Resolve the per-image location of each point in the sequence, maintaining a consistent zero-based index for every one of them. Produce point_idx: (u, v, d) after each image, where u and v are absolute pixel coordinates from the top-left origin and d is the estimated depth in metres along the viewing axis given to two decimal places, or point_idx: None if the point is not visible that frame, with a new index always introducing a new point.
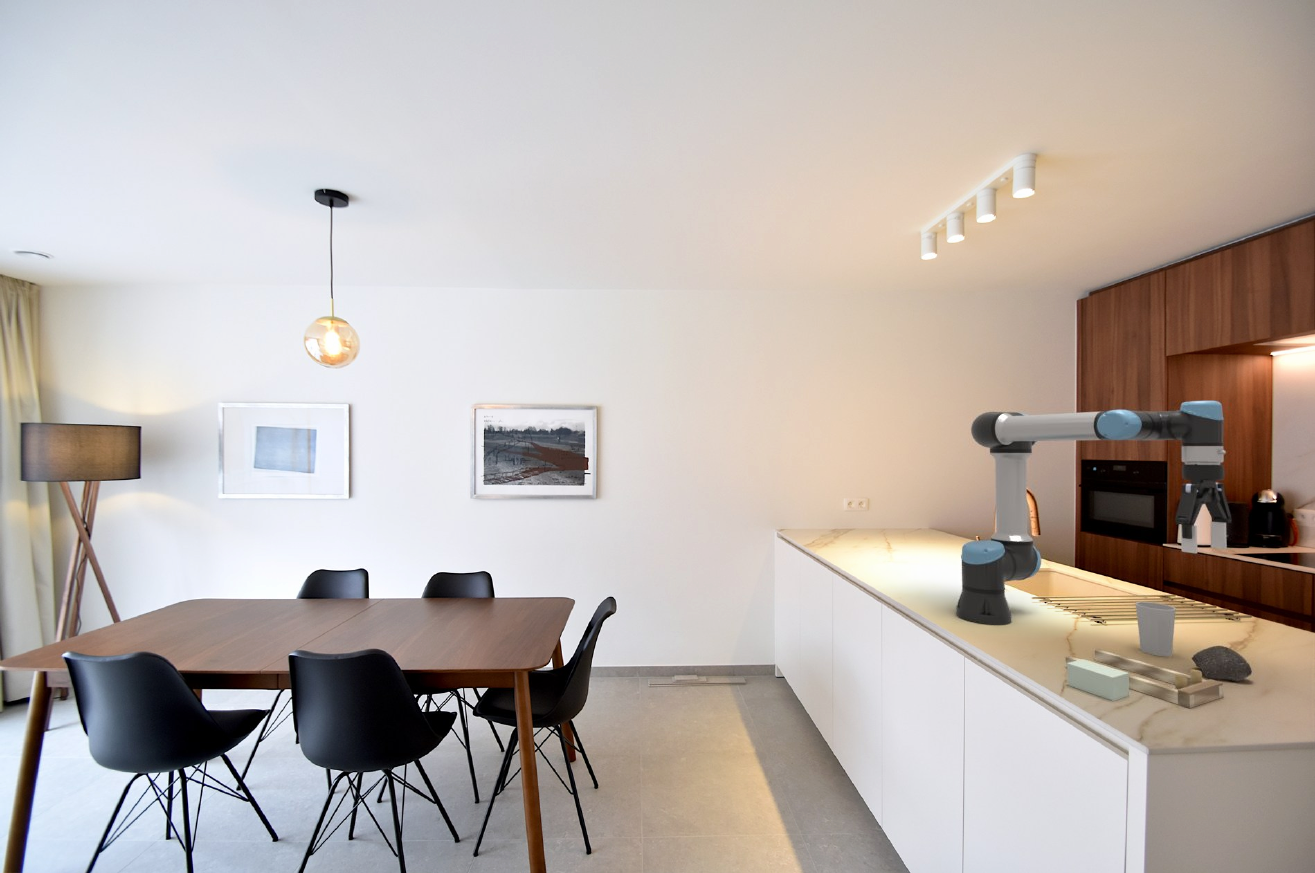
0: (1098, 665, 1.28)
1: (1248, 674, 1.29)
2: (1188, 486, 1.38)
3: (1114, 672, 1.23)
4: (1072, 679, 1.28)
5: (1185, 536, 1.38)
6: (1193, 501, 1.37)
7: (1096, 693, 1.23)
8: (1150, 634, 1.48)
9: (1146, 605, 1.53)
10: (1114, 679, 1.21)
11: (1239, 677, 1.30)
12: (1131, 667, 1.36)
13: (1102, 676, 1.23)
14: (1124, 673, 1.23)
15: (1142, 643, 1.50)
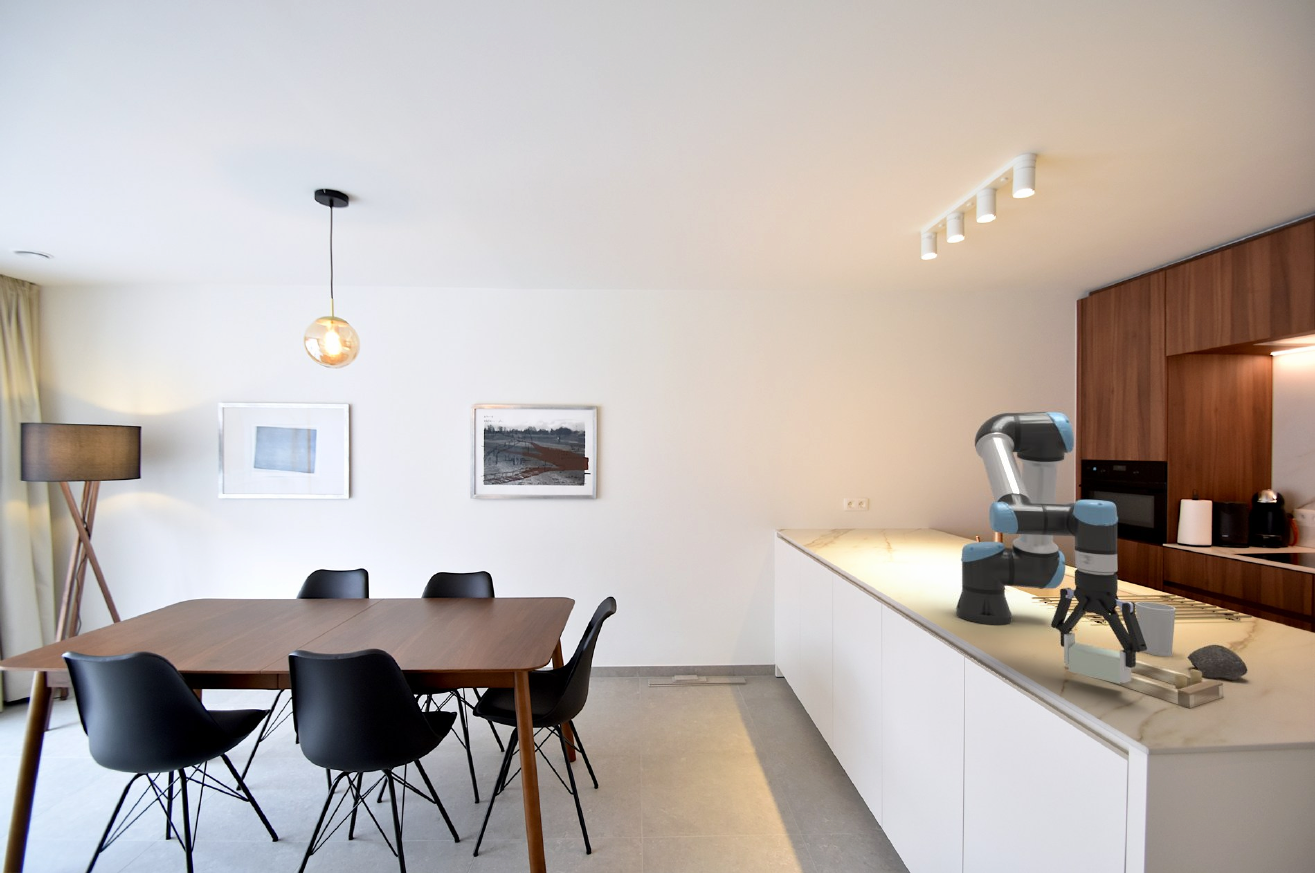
0: (1094, 647, 1.28)
1: (1244, 673, 1.30)
2: None
3: (1114, 654, 1.25)
4: (1075, 665, 1.27)
5: None
6: (1059, 606, 1.32)
7: (1101, 677, 1.24)
8: (1150, 634, 1.48)
9: (1146, 605, 1.53)
10: None
11: (1235, 676, 1.30)
12: None
13: (1108, 659, 1.23)
14: None
15: None
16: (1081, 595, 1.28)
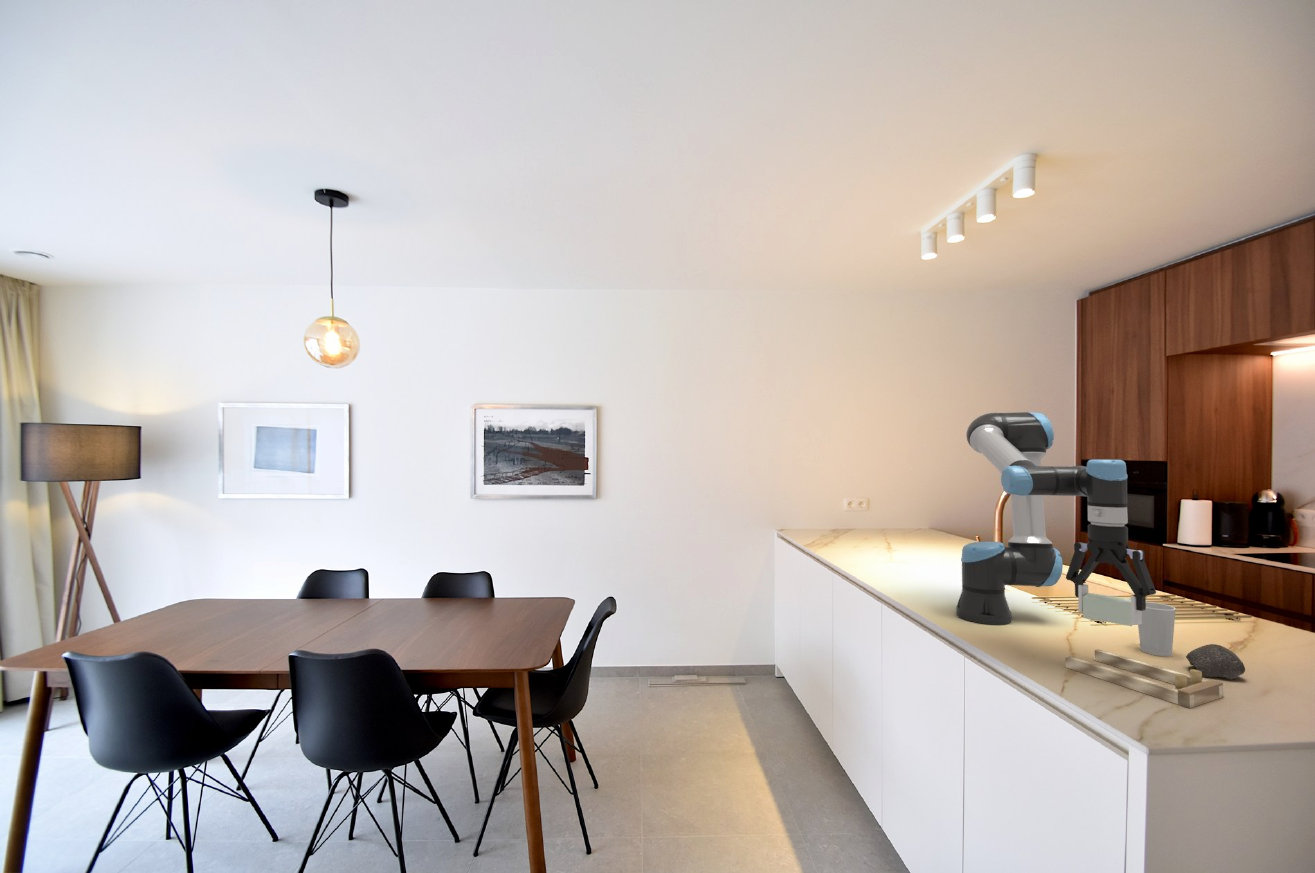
0: (1106, 596, 1.38)
1: (1242, 672, 1.30)
2: None
3: (1126, 600, 1.35)
4: (1089, 611, 1.37)
5: None
6: (1074, 559, 1.43)
7: (1114, 621, 1.33)
8: (1150, 634, 1.48)
9: (1146, 605, 1.53)
10: None
11: (1233, 675, 1.31)
12: (1131, 667, 1.36)
13: (1119, 604, 1.33)
14: None
15: (1142, 643, 1.50)
16: (1094, 547, 1.38)
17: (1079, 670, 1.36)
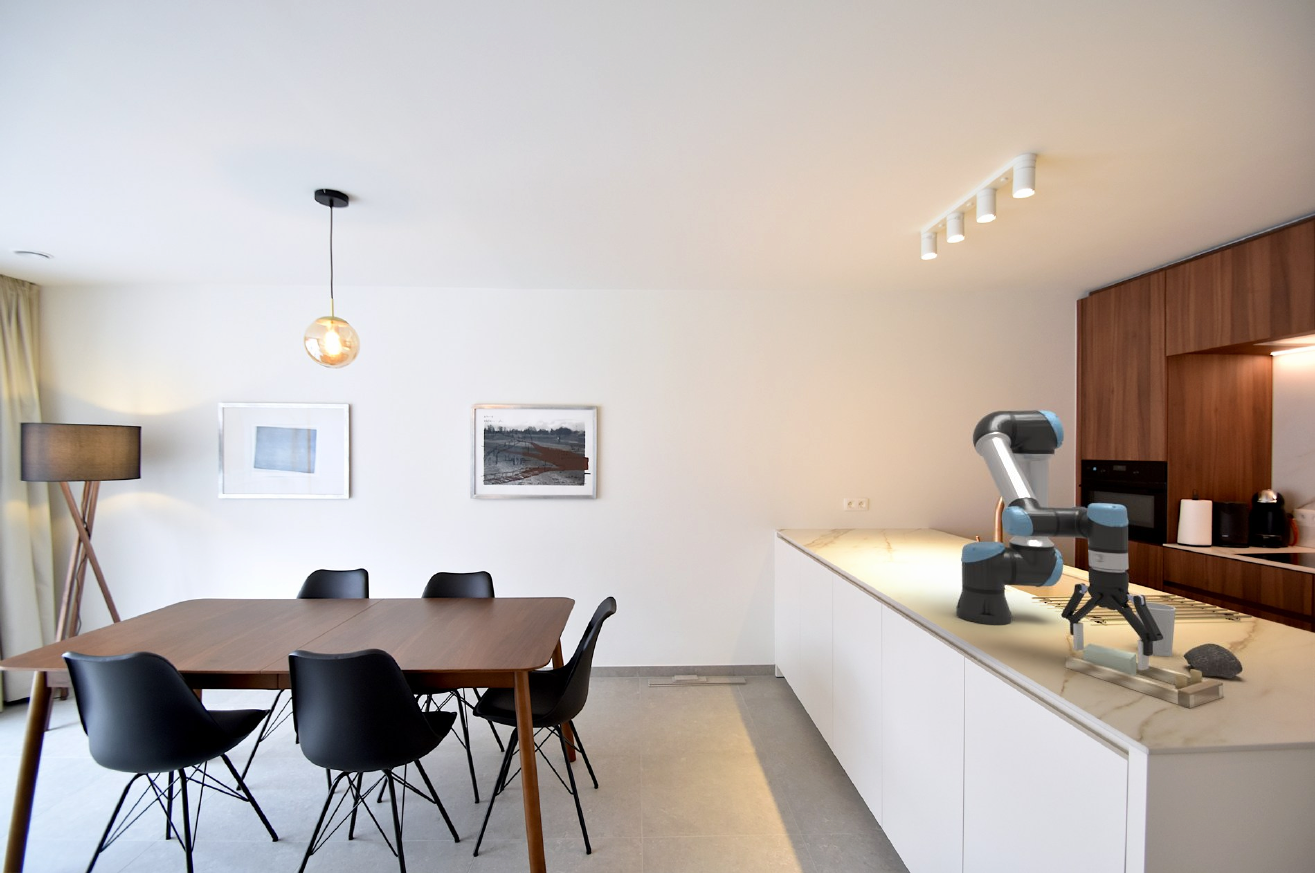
0: (1107, 648, 1.38)
1: (1239, 671, 1.31)
2: None
3: (1126, 654, 1.34)
4: None
5: None
6: (1072, 599, 1.43)
7: None
8: None
9: (1146, 605, 1.53)
10: (1131, 660, 1.31)
11: (1230, 674, 1.31)
12: None
13: (1119, 658, 1.33)
14: (1133, 654, 1.35)
15: None
16: (1094, 592, 1.38)
17: (1079, 670, 1.36)
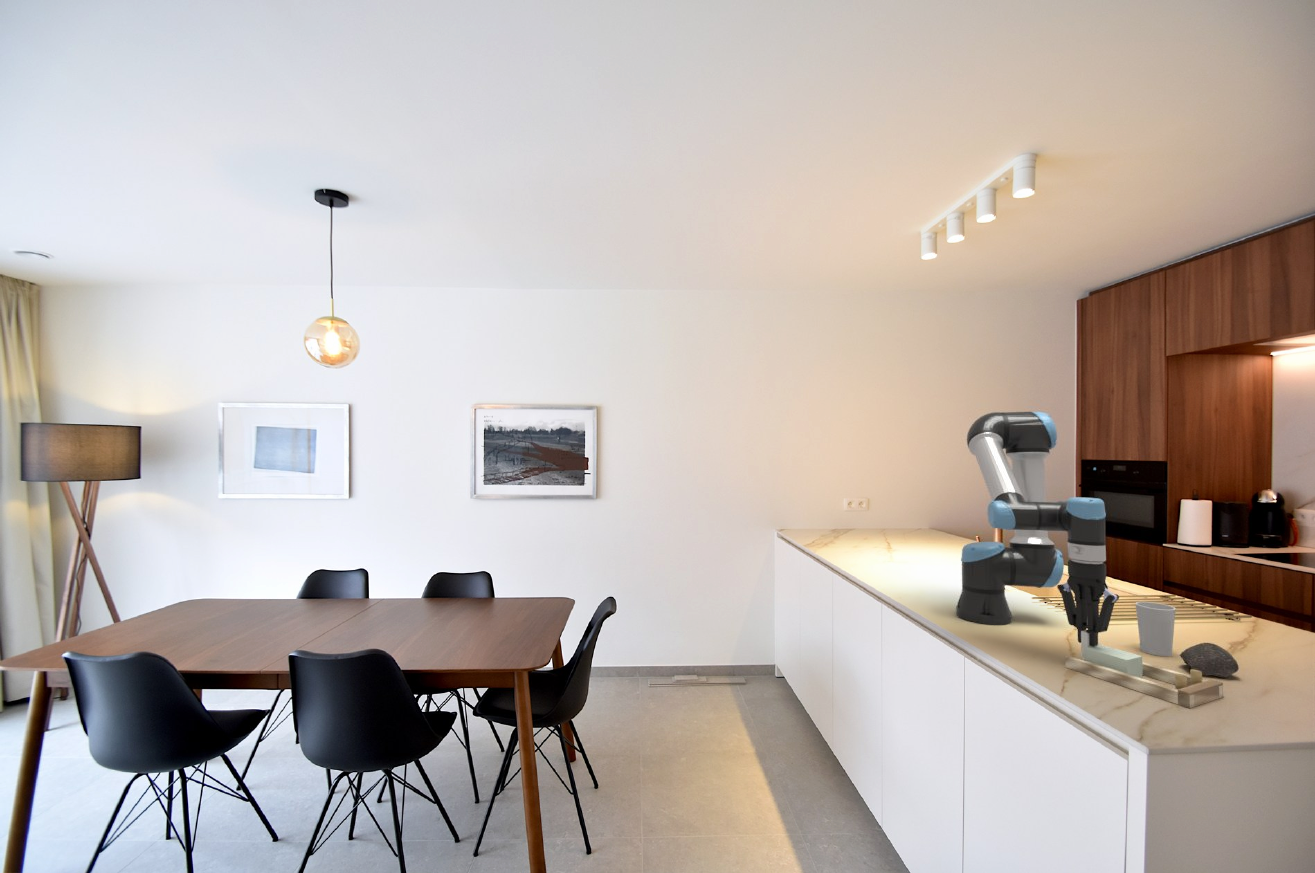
0: (1113, 649, 1.37)
1: (1235, 670, 1.31)
2: None
3: (1128, 655, 1.33)
4: None
5: None
6: (1065, 602, 1.44)
7: None
8: (1150, 634, 1.48)
9: (1146, 605, 1.53)
10: (1128, 661, 1.31)
11: (1226, 673, 1.32)
12: None
13: (1117, 658, 1.32)
14: (1138, 656, 1.33)
15: (1142, 643, 1.50)
16: (1073, 581, 1.43)
17: (1079, 670, 1.36)
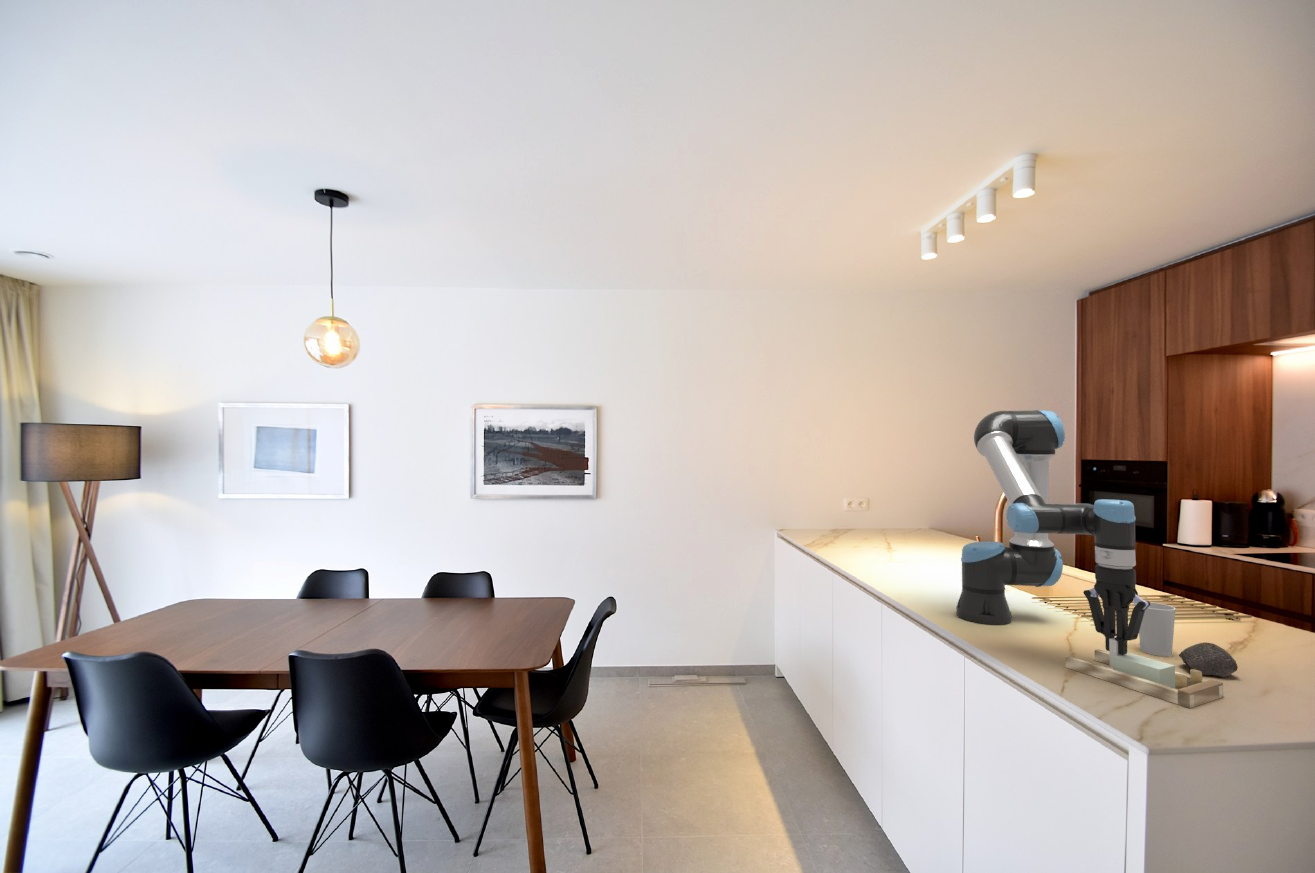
0: (1144, 658, 1.32)
1: (1234, 670, 1.32)
2: None
3: (1160, 665, 1.27)
4: None
5: None
6: (1092, 608, 1.39)
7: None
8: (1150, 634, 1.48)
9: None
10: (1160, 671, 1.25)
11: (1226, 673, 1.32)
12: None
13: (1148, 668, 1.27)
14: (1170, 665, 1.27)
15: (1142, 643, 1.50)
16: (1101, 587, 1.37)
17: (1079, 670, 1.36)
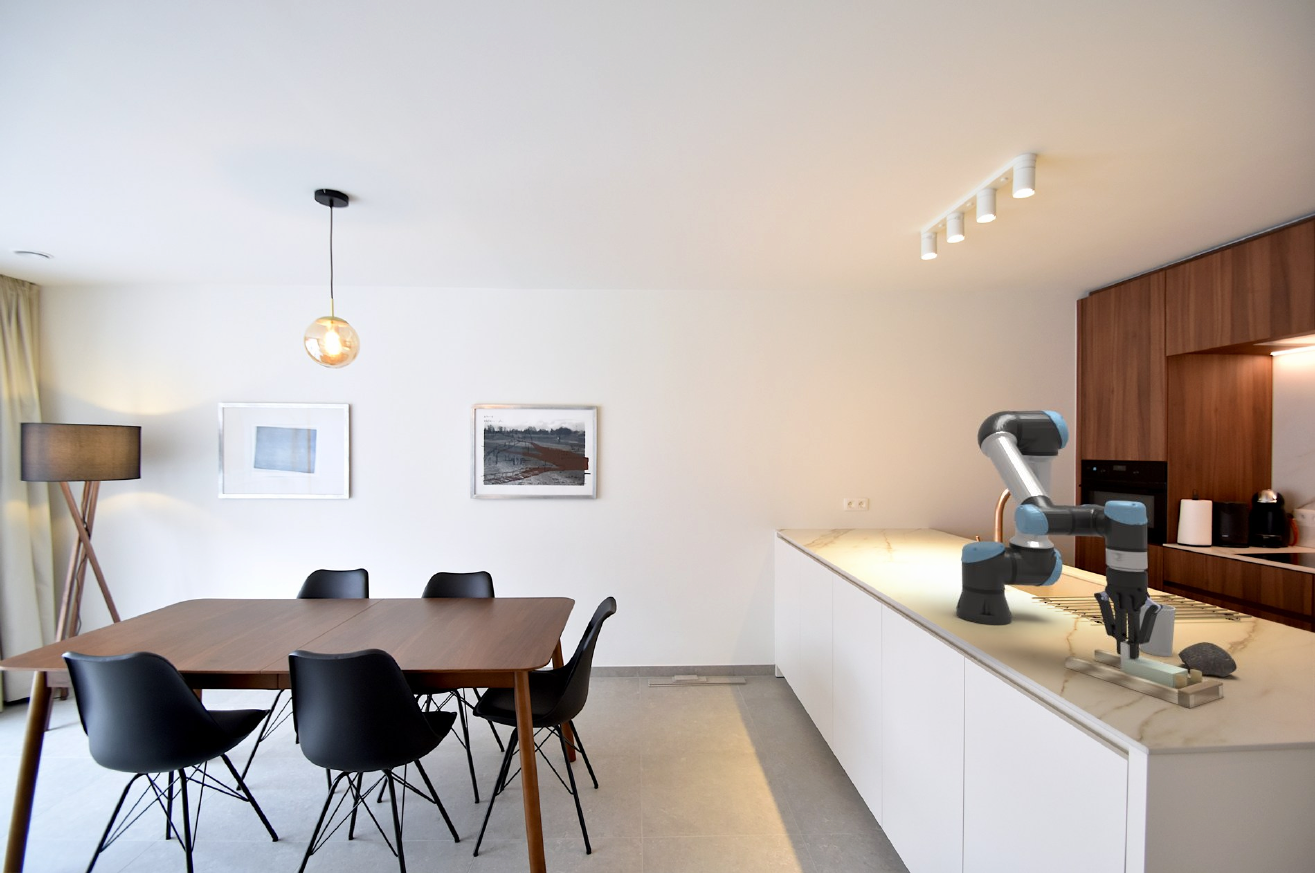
0: (1156, 662, 1.30)
1: (1233, 670, 1.32)
2: None
3: (1173, 669, 1.25)
4: None
5: None
6: (1103, 611, 1.37)
7: None
8: None
9: None
10: (1174, 675, 1.23)
11: (1225, 673, 1.32)
12: None
13: (1161, 672, 1.25)
14: (1183, 670, 1.25)
15: None
16: (1112, 589, 1.35)
17: (1079, 670, 1.36)
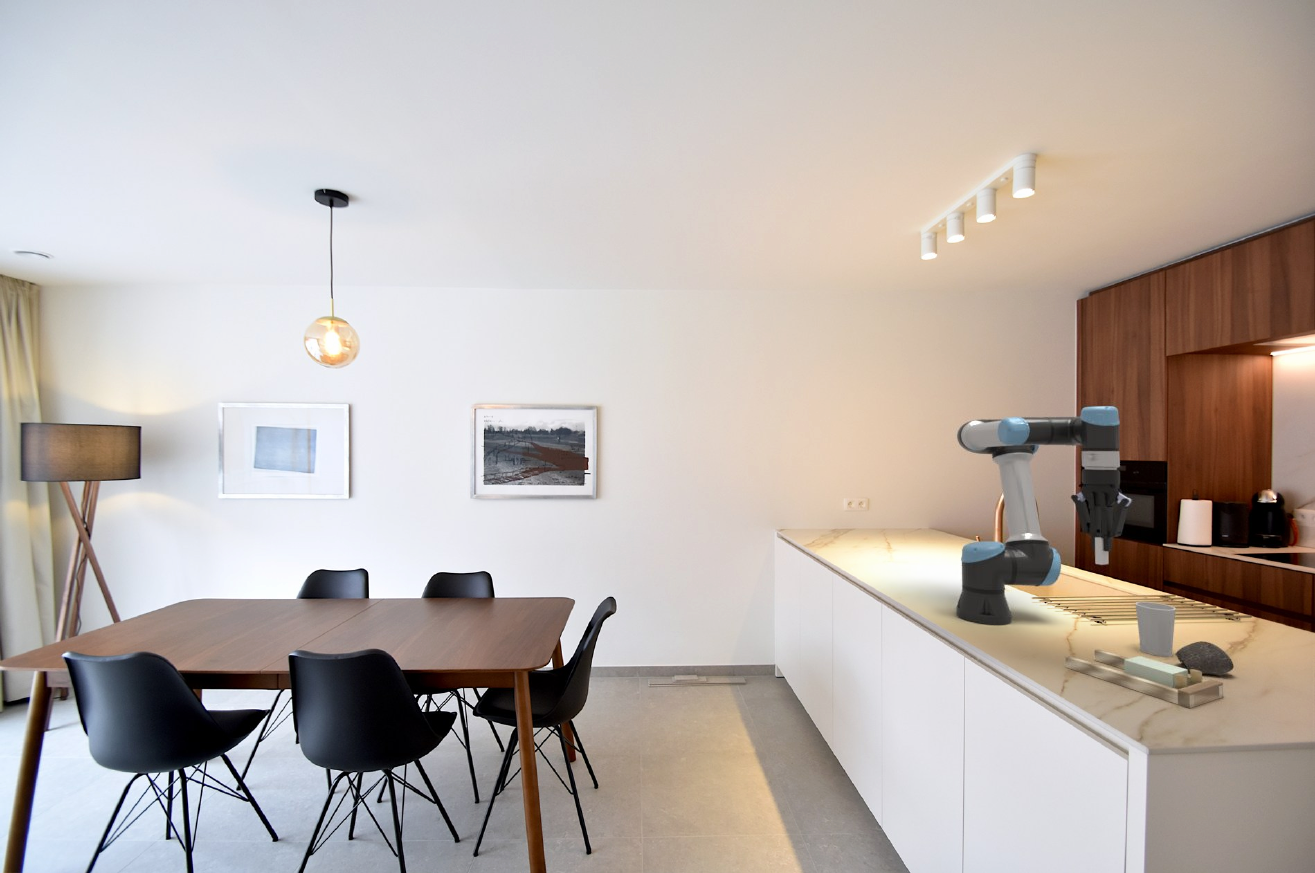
0: (1156, 662, 1.30)
1: (1230, 669, 1.32)
2: None
3: (1173, 669, 1.25)
4: None
5: None
6: (1079, 511, 1.46)
7: None
8: (1150, 634, 1.48)
9: (1146, 605, 1.53)
10: (1173, 675, 1.23)
11: (1222, 672, 1.33)
12: None
13: (1161, 672, 1.25)
14: (1183, 670, 1.25)
15: (1142, 643, 1.50)
16: (1087, 490, 1.45)
17: (1079, 670, 1.36)
